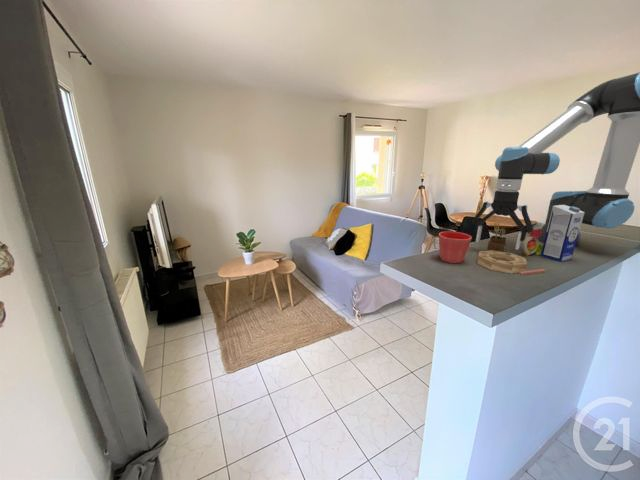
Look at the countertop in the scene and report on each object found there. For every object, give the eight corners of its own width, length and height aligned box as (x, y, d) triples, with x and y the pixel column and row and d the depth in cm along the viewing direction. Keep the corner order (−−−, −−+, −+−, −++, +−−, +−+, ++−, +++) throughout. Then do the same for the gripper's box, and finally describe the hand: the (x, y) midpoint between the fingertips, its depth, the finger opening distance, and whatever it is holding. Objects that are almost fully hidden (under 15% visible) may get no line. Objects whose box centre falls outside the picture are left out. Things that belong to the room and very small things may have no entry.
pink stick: (542, 271, 89) (543, 269, 89) (545, 272, 89) (545, 270, 88) (518, 274, 87) (519, 271, 87) (521, 275, 86) (521, 272, 86)
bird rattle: (534, 263, 102) (550, 251, 104) (532, 239, 98) (549, 227, 100) (517, 258, 108) (533, 247, 109) (515, 234, 103) (531, 224, 105)
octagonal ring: (499, 256, 103) (500, 249, 102) (534, 270, 90) (536, 262, 89) (468, 259, 100) (470, 252, 99) (501, 274, 87) (502, 266, 86)
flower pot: (467, 266, 93) (471, 240, 91) (434, 261, 99) (437, 236, 96) (468, 257, 102) (472, 233, 100) (437, 253, 107) (440, 230, 105)
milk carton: (551, 253, 106) (563, 204, 100) (571, 259, 100) (586, 206, 94) (540, 256, 103) (552, 205, 98) (560, 261, 98) (575, 208, 92)
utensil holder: (490, 256, 104) (495, 226, 100) (483, 251, 109) (488, 222, 106) (506, 257, 103) (513, 227, 99) (499, 252, 108) (505, 223, 105)
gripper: (467, 188, 105) (459, 240, 111) (548, 194, 88) (534, 254, 94) (474, 187, 110) (466, 236, 116) (552, 192, 93) (537, 250, 99)
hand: (496, 244), depth 105 cm, fingers open, 13 cm apart
